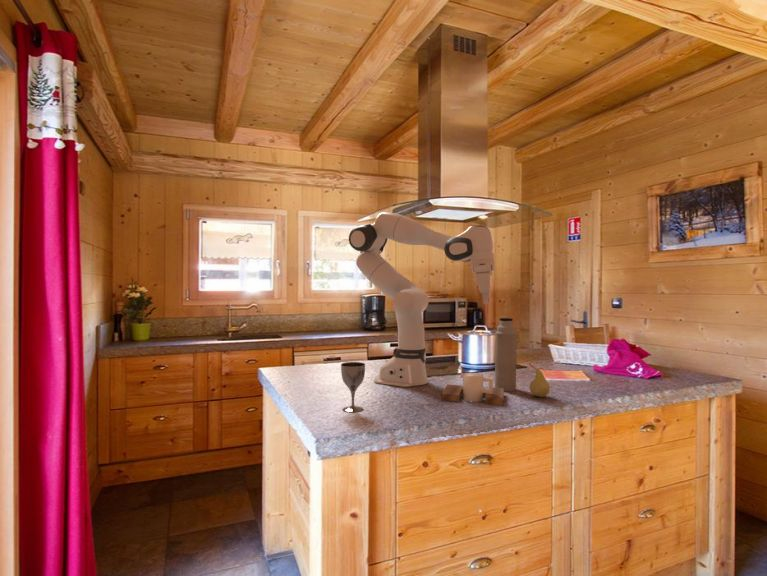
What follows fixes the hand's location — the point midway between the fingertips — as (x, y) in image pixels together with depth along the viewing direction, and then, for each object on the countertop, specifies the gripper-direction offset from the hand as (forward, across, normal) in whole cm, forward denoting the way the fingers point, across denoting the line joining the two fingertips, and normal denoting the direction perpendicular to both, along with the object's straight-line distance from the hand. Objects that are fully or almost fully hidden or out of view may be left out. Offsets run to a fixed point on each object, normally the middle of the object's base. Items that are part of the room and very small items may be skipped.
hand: (486, 303), depth 168 cm
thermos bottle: (+35, -5, +4) cm, 36 cm away
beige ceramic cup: (+33, +14, -7) cm, 36 cm away
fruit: (+36, +3, +15) cm, 39 cm away
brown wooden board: (+33, +11, -8) cm, 36 cm away
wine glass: (+28, +37, -45) cm, 65 cm away
